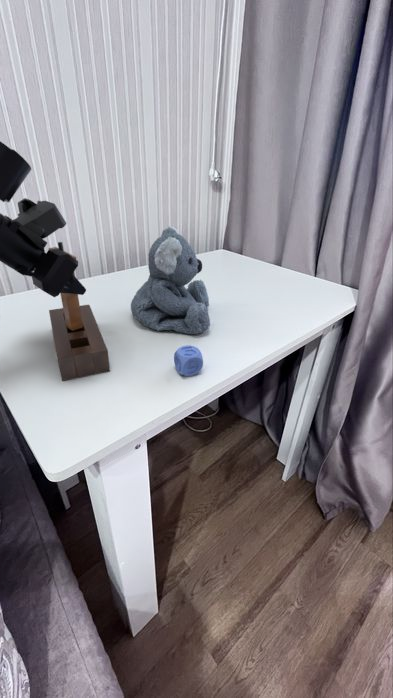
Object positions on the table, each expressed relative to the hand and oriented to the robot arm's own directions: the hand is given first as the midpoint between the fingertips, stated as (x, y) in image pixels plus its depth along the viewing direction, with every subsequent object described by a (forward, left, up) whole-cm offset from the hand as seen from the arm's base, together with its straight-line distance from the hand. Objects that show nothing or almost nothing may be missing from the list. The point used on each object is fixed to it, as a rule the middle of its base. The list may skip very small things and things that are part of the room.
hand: (75, 286), depth 58 cm
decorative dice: (+16, -14, -12) cm, 25 cm away
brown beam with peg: (-1, 0, -8) cm, 8 cm away
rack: (-1, 0, -12) cm, 12 cm away
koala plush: (+20, +6, -12) cm, 24 cm away
